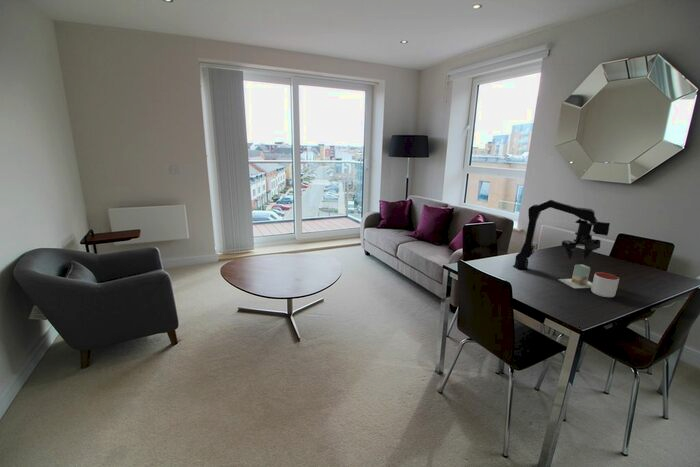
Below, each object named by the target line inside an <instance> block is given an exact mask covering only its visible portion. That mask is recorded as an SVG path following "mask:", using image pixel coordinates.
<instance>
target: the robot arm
mask: <svg viewBox="0 0 700 467" xmlns="http://www.w3.org/2000/svg"><path fill="white" fill-rule="evenodd" d="M549 208H550V209H555V210H557V211H561V212H564V213H567V214H570V215H571V214H572V215H574V216H575V217H578V218H579V219H577V220H575V223H576V224H578V228H577V232H575V233H574V234H575V235H576V236H575V239H573V241H572V240H562V241H561V246H563V247H564V249H565V251H566V253H567V257H568V259H570V260H571V259H572V257H573V254H574V253H573V252H574V251H575V250H576V248H577V247H584V249H583V253H584V254H583V259H584V260H587V259H588V258H589V256H590V255H591V253H592V252H593V251H595V250H596V251H597V250H598V249H600V248H601V242H602V241H601V239H593V236H592V234H591V232H593V233H594V234H593V235H601V236H606V237H607V236H608V234H609V230H610V224H611V222H603V221H598V219H597V217H596V216H595V215H596V213H595V210H593V209H592V208H588V207H587V208H586V207H579V206H578V207H576V206H572V205H570V204H565V203H562V202H559V201H555V200H553V199H549V200H547V201H545V202H542V203H540V204H533V205H532V206H530V207H529V208H528V216H527V217H528V225H527V228H526V235H525V238H524V244H523V246H522V248H521V250H520V251H519V252H518V253H517V254H516V255H515V260H514V261H515V262H514V264H512V267H513V266H514V268H515V269H517V270H519V271H520V270H521V271H522V270H523V271H524V270H527V271H528V270H529V268H528V265H529V258H530V257H531V256H533V254H534V253H535V248H536V245H533V244H534V243H533V241H534V238H535V232H536V227H537V223H538V220H539V218H540V216H541V215H540V214H541V213H542V211H546V210H547V209H549Z"/></svg>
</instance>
